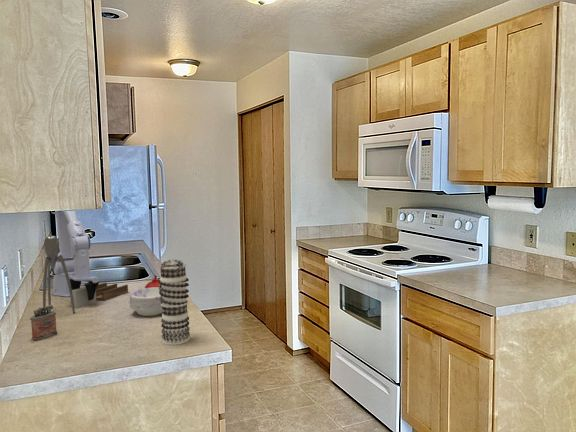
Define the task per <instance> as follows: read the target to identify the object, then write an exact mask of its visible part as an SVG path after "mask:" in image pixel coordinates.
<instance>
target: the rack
mask: <svg viewBox="0 0 576 432" xmlns="http://www.w3.org/2000/svg"><path fill="white" fill-rule="evenodd" d="M128 285H129V284H123V285H121V286H118V283H113V284H110V285H108V282H102V283H99V284H98V286H97V288H96V301H102V302H103V301H104V302H105V301H108V300H111V299H113V298H117V297H119V296H122V295H125V294H128V293H129V286H128Z"/></svg>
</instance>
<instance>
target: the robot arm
mask: <svg viewBox="0 0 576 432" xmlns="http://www.w3.org/2000/svg"><path fill="white" fill-rule="evenodd" d="M51 214H53V215H55V216H56V223H57V224H56V226H57V235H58V236H57V238H58V242H59V251H58V256H60V255H62V257H63V259H64V262H65V265H66V268H67V272H68V275H69V279H70V283H71V288H72V290H74V289H78V288H81V286H82V285H81V283H82V282H85V283H84V285H83V286H84V287H86V290H87V295H88V300H89V301H90V300H93V299H94V295H95V291H96V288H97V286H98V285H99V284H100V282H99V277H98V276H94V275H91V266H90V265H91V264H90V251H89V250H90V249H91V245H92V244H91V238H90V235H89V234H88V233H87V232H86V231H85V229H84V226H83V222H81V221H79V220H78V215H77V211H58V212H52V211H51ZM58 256H57V257H58ZM53 274H55V275H54V276H53V279H52V290H53V293H52V294H51V295H52V296H58V297H65V298H69V297H70V293H69V288H68V284H67V280H66V276H65V273H64V270H63V267H62V264H61V262H60V260H59V261H57V262H56V264H55V267H54V270H53Z"/></svg>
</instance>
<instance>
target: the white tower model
mask: <svg viewBox="0 0 576 432" xmlns="http://www.w3.org/2000/svg"><path fill="white" fill-rule="evenodd" d="M186 266H187V265H186V264H184V262H183V261H182V260H179V259H168V260H164V261H163V262H162V263H161V265H160V266H159V269H160V277H159V278H160V279H159V281H158V283H159V284H160V285H159V290H160V291H159V294H160V295H161V297H160V301H161V302H160V304H161V306H162V312H163V313H161V320H160V322H161V327H162V328H161V338H162V344H164V345H167V346H168V345H169V346H174V345H175V346H177V345H181V344H185V343H187V342H189V341H190V340H191V339H190V337H191V335H190V327H189V325H190V317H189V313H188V312H189V311H188V304H189V300H188V298H189V297H190V296H189V294H188V293H189V292H190V291H189V289H188V288H187V287H189V286H190V285H189V283H188V282H189V280H190V279H189V278H188V277H187V273H186ZM160 281H161V282H160ZM161 287H162V288H161Z"/></svg>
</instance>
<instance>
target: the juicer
mask: <svg viewBox="0 0 576 432" xmlns="http://www.w3.org/2000/svg"><path fill="white" fill-rule="evenodd" d="M43 247H44V252H45V255H46V256H45V259H44V260H45V261H44V269H43V270H44V271H43V280H42V281H43V285H42V307H45V306H49V305H52V303H51V302H52V300H51V299H52V298H51V295H52V294H51V269H52V271H54V267H55V264H56V262H57V261H59V260H60V262H61V264H62V267H63V270H64V273H65V276H66V280H67V284H68V288H69V293H70V296H69V297H70V298H69V299H70V303H71V310H72V311H71V312H72V314H73V315H74V314H75V313H76V312H75V311H76V310H75V309H76V308H74V300H73V294H72V288H71V283H70V279H69V275H68V272H67V268H66V265H65V262H64V259H63V257H62V255H60V256H58V253H59V252H60V249H59V238H58V236H56V235H47V236H45V238H44V241H43ZM57 256H58V257H57ZM46 295H47V296H46ZM46 297H47V298H46ZM46 301H48V305H46V304H47V303H46ZM49 311H52V309H51V310H49Z"/></svg>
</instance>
